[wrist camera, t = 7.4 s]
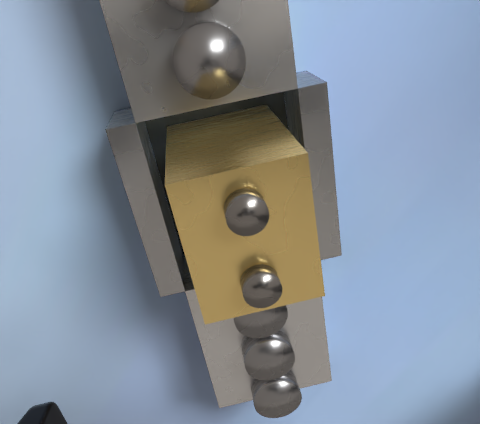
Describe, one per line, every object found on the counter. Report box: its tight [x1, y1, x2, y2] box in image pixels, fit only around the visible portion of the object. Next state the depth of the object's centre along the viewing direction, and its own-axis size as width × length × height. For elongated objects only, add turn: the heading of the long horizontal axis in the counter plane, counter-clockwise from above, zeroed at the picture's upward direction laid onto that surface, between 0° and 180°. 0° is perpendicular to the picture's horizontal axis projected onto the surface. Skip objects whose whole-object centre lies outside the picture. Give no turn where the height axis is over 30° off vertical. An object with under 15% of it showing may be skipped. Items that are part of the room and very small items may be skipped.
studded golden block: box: [165, 105, 325, 324], centre depth 16 cm, size 5×4×7 cm
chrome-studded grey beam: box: [99, 0, 341, 418], centre depth 17 cm, size 22×8×3 cm, turn 10°
